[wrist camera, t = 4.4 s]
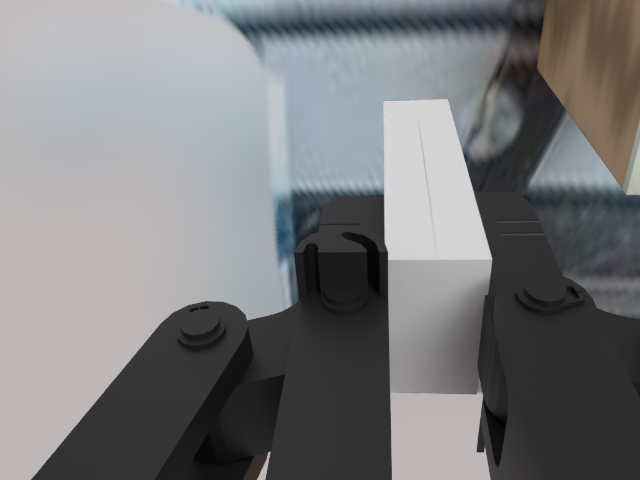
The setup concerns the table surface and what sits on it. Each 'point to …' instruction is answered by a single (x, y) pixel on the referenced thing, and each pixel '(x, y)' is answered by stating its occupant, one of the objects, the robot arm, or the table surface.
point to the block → (598, 76)
